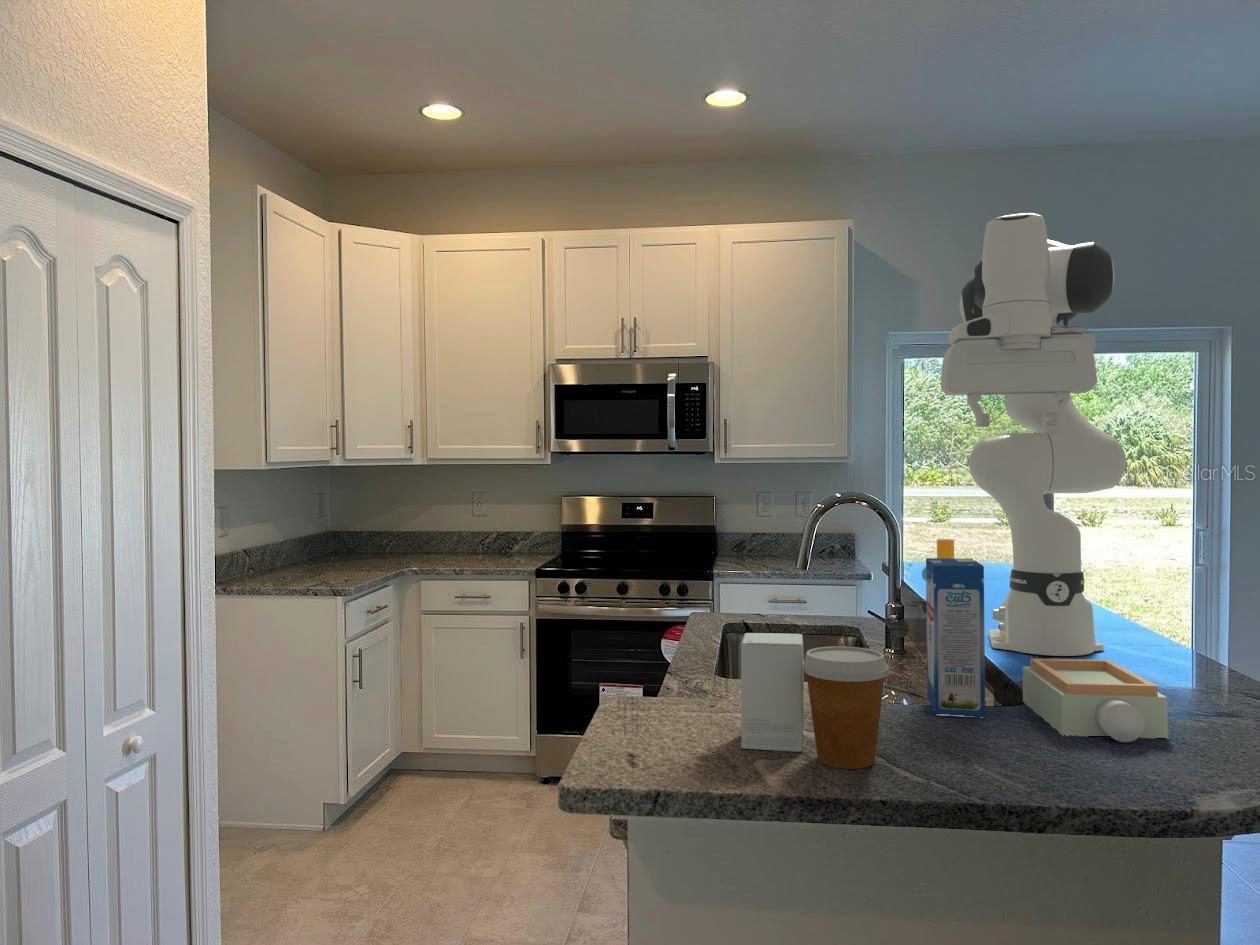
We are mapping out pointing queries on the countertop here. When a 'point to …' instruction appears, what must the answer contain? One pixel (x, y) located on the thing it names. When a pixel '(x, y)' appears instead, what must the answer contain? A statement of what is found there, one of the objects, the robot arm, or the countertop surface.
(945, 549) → the orange column with rings
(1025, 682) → the framed green panel box
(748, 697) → the supplement box
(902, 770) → the countertop surface
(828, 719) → the disposable coffee cup
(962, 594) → the milk carton
